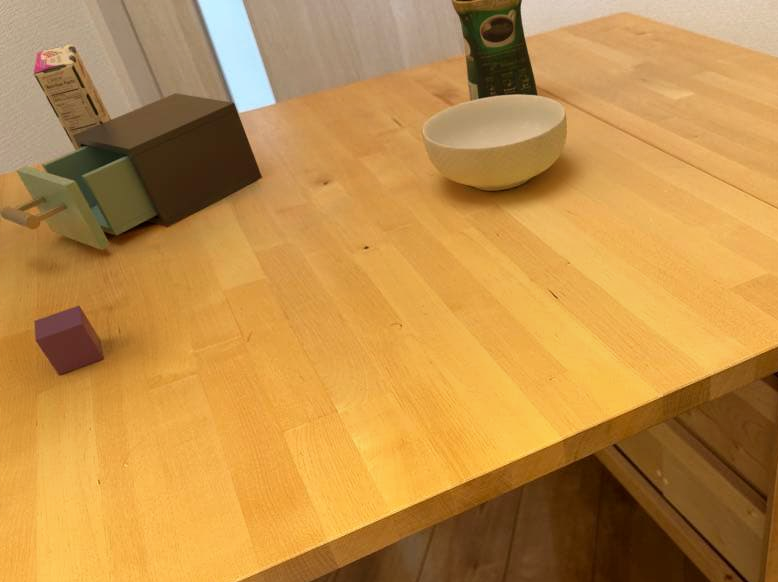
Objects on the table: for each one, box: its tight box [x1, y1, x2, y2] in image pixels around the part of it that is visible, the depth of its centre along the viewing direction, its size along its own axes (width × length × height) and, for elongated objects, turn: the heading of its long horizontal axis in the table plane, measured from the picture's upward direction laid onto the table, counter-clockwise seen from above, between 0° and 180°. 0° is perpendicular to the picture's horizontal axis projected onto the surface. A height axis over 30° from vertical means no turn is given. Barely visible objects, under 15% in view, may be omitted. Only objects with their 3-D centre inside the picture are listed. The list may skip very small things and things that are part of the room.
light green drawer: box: [0, 145, 157, 251], centre depth 90 cm, size 18×12×8 cm, turn 145°
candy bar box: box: [32, 43, 112, 151], centre depth 102 cm, size 11×5×16 cm, turn 25°
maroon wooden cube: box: [33, 305, 105, 376], centre depth 71 cm, size 4×4×4 cm
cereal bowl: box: [421, 95, 568, 192], centre depth 89 cm, size 17×17×7 cm
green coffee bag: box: [451, 0, 538, 101], centre depth 105 cm, size 10×8×19 cm
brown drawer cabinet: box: [73, 93, 263, 228], centre depth 97 cm, size 15×13×10 cm
